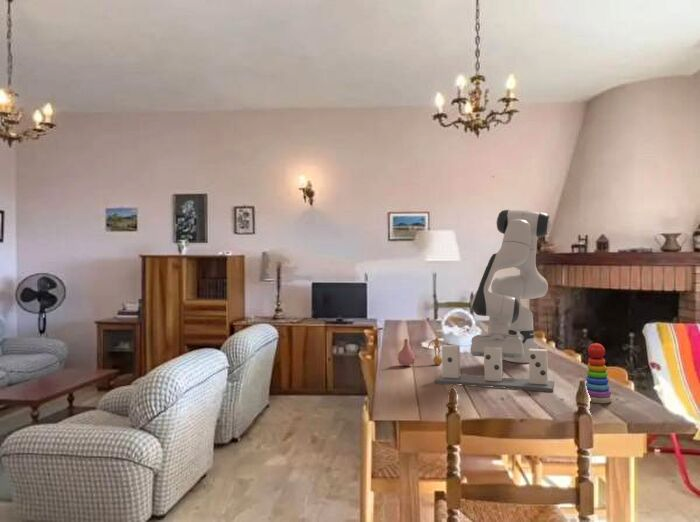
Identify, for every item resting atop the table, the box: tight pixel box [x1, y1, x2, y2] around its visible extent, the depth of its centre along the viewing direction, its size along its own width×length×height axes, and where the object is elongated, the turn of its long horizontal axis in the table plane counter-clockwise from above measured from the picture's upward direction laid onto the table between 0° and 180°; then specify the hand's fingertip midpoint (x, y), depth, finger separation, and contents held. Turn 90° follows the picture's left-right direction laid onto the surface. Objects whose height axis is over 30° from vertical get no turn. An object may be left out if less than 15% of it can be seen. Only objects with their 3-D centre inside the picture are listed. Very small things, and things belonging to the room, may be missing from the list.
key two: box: [483, 347, 504, 381], centre depth 193 cm, size 4×6×12 cm
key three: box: [528, 348, 549, 385], centre depth 186 cm, size 4×6×12 cm
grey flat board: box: [434, 373, 555, 393], centre depth 192 cm, size 12×42×1 cm, turn 66°
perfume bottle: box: [397, 338, 416, 367], centre depth 228 cm, size 8×8×12 cm
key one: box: [441, 344, 461, 378], centre depth 199 cm, size 4×6×12 cm
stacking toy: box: [585, 342, 613, 404], centre depth 166 cm, size 8×8×19 cm
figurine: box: [427, 337, 446, 366], centre depth 231 cm, size 8×6×12 cm
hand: (495, 365), depth 197 cm, fingers closed
